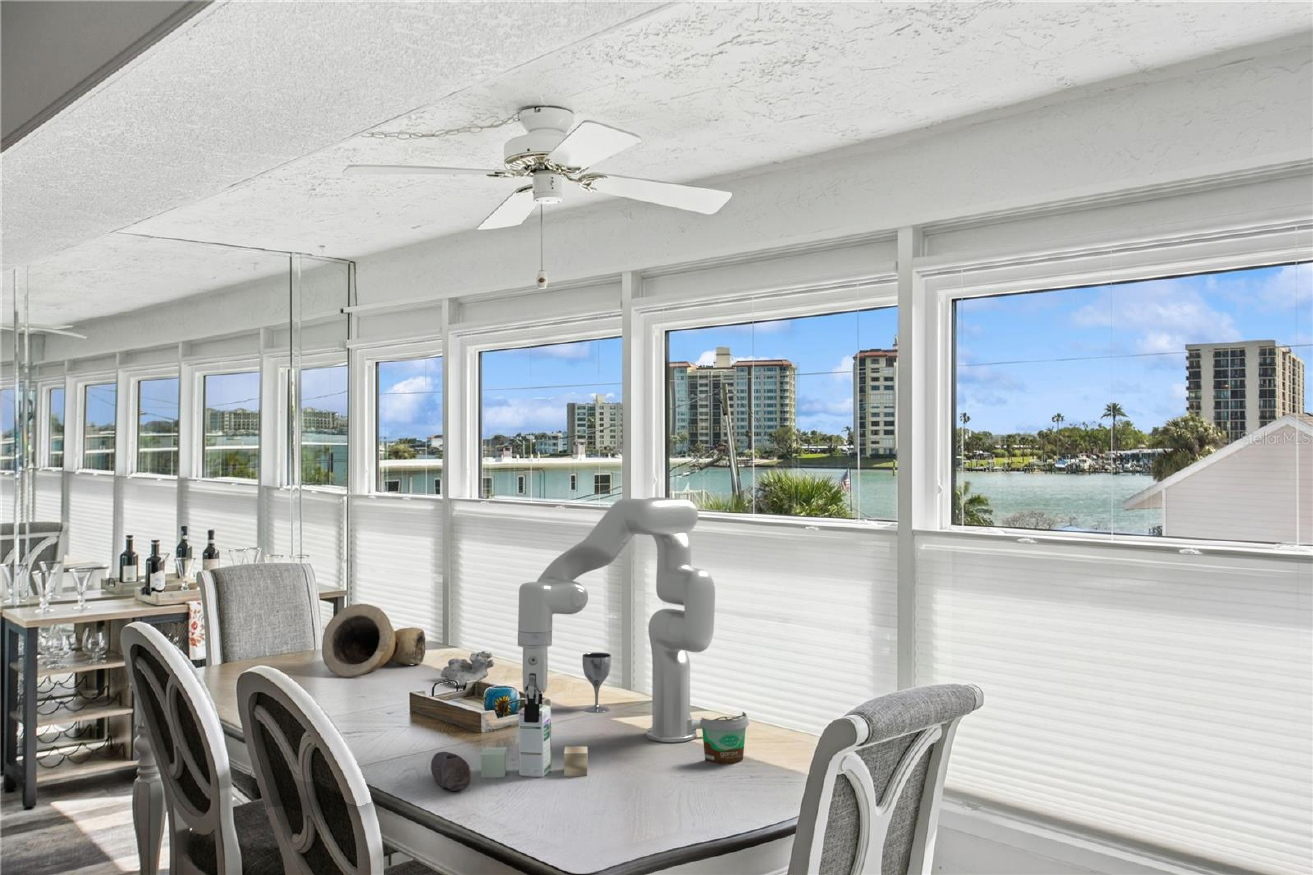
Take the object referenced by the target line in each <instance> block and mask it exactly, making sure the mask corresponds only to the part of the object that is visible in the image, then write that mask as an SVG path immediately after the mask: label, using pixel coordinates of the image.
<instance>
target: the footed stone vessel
mask: <svg viewBox="0 0 1313 875" xmlns="http://www.w3.org/2000/svg"><path fill="white" fill-rule="evenodd" d="M321 655H322V659H323V662H324V665H325V666H326V667H327V669H328V670H329V671H330V672H332V673H333V674H335V675H336V676H338V677H342V676H343V678H351V677H358V676H361V675H364V674H366V672H367V673H369V672H373V671H375V670H377V669H379V668H381V667H382V666H384V665H385V664H386V663H390V662H392V663H395V664H399V665H404V664H418V665H420V663H421V664H422V663H423V661H424V659H425V656H426V635H425V631H424V629H423V628H418V627H412V626H411V627H405V628H404V627H403V628H399V629H397V630H394V627H393V626H392V624H391V621H390V619H389V617H388V616H387V615H386V613H385V612H384V611H383V610H382V609H381V608H380V607H379V606H378V607H377V606H375V605H371V604H369V603H357V604H351V605H347V606H345V607H343V608H341V610H339V611H338V612H337V613H336V614H335V615H334V616H333V617H331V619H330V621H329V622H328V623H327V625H326V627H325V630H324V632H323V636H322V643H321Z"/></svg>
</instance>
